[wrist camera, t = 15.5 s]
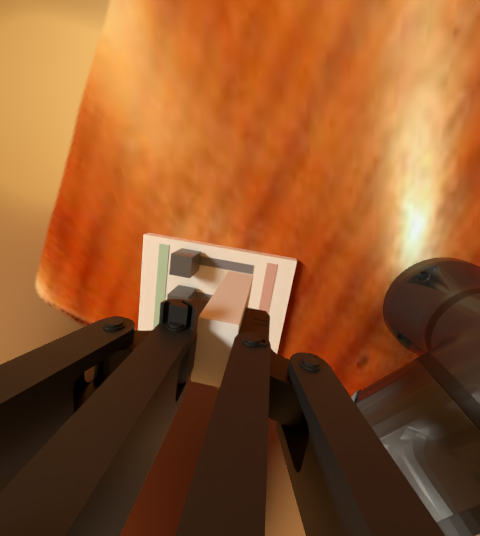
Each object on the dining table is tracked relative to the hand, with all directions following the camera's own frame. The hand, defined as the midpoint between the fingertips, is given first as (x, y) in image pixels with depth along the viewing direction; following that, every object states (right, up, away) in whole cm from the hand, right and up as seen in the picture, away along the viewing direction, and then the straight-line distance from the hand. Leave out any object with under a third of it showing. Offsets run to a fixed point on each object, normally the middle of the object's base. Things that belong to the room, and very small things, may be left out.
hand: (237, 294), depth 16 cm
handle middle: (-8, -3, +27) cm, 28 cm away
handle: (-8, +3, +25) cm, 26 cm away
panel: (-4, -3, +29) cm, 29 cm away
